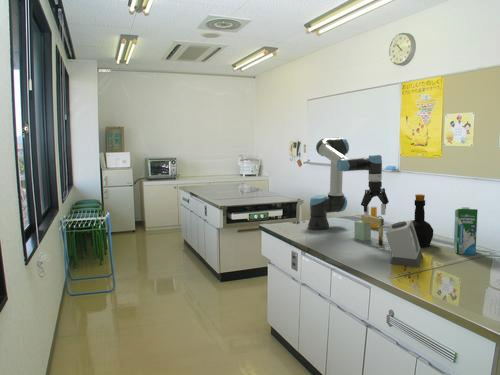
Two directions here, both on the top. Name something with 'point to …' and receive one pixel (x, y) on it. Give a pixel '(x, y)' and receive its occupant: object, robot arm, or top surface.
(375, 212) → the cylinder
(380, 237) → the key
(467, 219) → the milk carton
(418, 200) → the bottle
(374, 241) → the plate
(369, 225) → the pale green block
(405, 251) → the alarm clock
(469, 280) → the top surface
